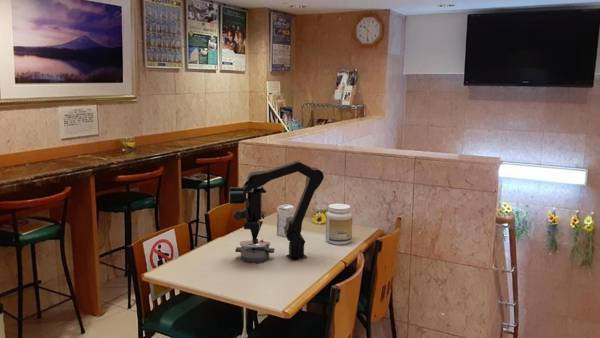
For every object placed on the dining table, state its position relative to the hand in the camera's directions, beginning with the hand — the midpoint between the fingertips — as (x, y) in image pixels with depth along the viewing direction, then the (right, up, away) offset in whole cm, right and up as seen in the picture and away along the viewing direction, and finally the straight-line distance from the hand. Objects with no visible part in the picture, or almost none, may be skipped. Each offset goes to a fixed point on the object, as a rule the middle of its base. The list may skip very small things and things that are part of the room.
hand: (254, 239), depth 206 cm
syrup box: (+12, -3, +35) cm, 37 cm away
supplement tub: (+37, -5, +26) cm, 46 cm away
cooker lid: (0, -2, +2) cm, 3 cm away
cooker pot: (0, -8, +3) cm, 8 cm away
